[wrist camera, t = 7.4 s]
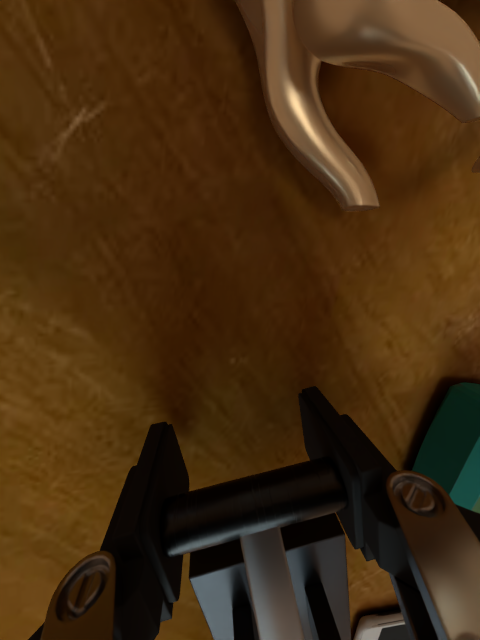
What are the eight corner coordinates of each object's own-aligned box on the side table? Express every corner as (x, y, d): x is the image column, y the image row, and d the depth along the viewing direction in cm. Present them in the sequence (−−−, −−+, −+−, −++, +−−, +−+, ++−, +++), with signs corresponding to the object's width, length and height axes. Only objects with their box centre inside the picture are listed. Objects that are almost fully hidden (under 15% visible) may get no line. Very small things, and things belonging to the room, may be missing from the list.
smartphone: (511, 650, 20) (343, 686, 18) (502, 638, 21) (339, 672, 19) (548, 594, 18) (362, 628, 16) (537, 583, 19) (356, 614, 17)
